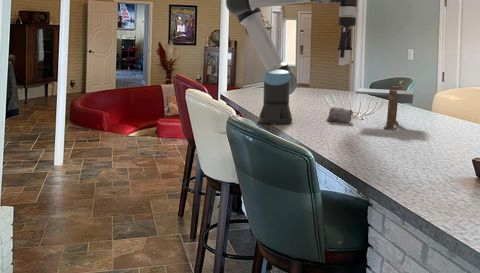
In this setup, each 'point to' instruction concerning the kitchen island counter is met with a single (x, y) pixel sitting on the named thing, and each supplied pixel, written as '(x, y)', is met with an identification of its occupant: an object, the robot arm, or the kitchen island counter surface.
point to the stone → (339, 115)
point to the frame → (392, 110)
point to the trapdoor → (401, 95)
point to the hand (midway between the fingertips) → (344, 64)
